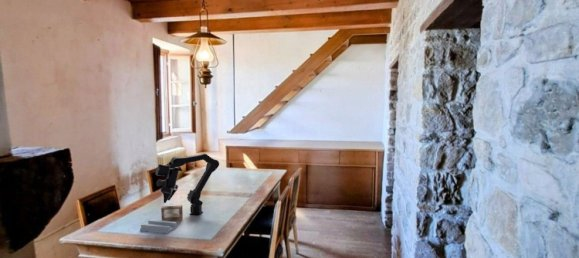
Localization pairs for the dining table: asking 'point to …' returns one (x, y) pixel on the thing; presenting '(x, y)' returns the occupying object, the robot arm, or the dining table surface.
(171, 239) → the dining table surface
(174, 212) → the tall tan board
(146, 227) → the display stand
